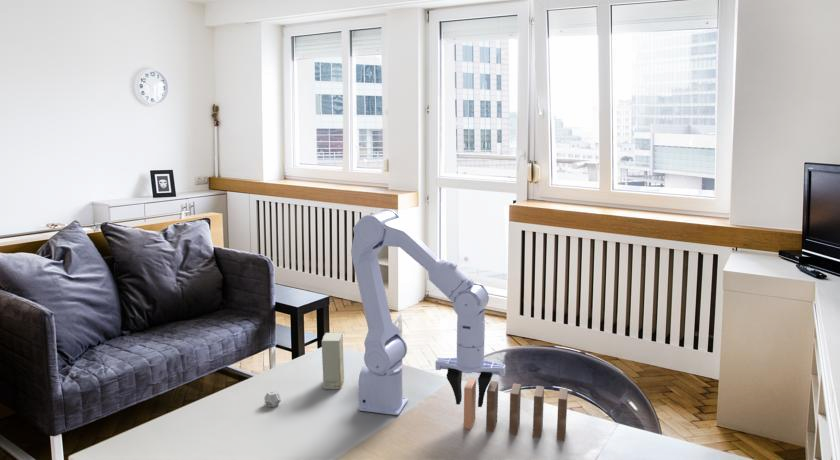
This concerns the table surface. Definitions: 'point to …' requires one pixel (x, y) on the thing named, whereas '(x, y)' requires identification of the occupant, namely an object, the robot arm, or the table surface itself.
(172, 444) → the table surface
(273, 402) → the game die
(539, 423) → the domino
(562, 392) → the domino
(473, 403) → the head domino
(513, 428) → the domino
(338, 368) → the skincare box
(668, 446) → the table surface
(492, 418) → the domino
